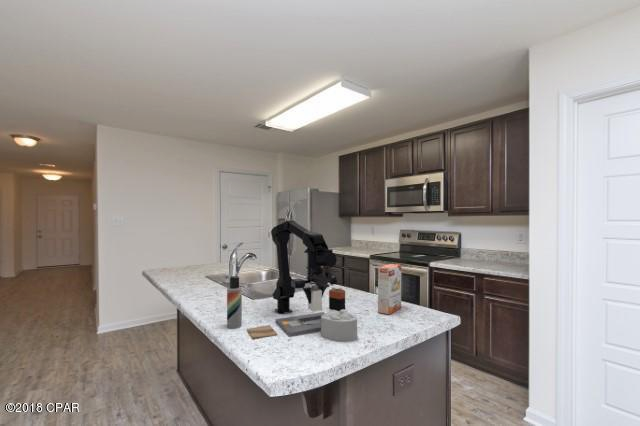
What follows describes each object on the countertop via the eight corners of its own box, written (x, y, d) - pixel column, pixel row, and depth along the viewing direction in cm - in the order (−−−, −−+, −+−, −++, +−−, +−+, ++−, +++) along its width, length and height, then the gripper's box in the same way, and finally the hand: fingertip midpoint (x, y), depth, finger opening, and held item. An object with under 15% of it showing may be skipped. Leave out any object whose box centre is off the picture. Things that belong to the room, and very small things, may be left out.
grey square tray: (275, 322, 127) (275, 317, 127) (323, 315, 137) (323, 310, 137) (289, 336, 112) (289, 330, 112) (342, 327, 121) (342, 321, 121)
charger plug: (307, 308, 127) (307, 285, 127) (316, 307, 129) (316, 284, 129) (312, 311, 122) (312, 287, 123) (321, 310, 124) (321, 286, 124)
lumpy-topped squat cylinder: (331, 328, 120) (331, 306, 121) (362, 334, 114) (362, 311, 114) (317, 337, 111) (317, 313, 112) (350, 344, 105) (350, 319, 105)
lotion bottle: (228, 324, 126) (228, 275, 126) (242, 323, 127) (242, 274, 127) (225, 328, 120) (225, 277, 121) (240, 328, 121) (240, 277, 121)
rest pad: (246, 330, 119) (246, 328, 119) (269, 326, 123) (269, 325, 123) (252, 339, 110) (252, 337, 110) (277, 335, 113) (277, 333, 113)
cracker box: (389, 315, 136) (389, 268, 136) (377, 313, 139) (377, 266, 140) (402, 308, 147) (401, 264, 147) (390, 306, 150) (390, 263, 151)
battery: (340, 311, 142) (340, 289, 142) (328, 309, 146) (328, 288, 146) (345, 309, 146) (345, 288, 146) (333, 307, 150) (333, 286, 150)
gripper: (300, 269, 115) (300, 311, 114) (344, 265, 123) (344, 304, 122) (290, 265, 125) (290, 303, 124) (331, 262, 133) (331, 298, 132)
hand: (314, 302), depth 126 cm, fingers closed on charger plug, 4 cm apart
